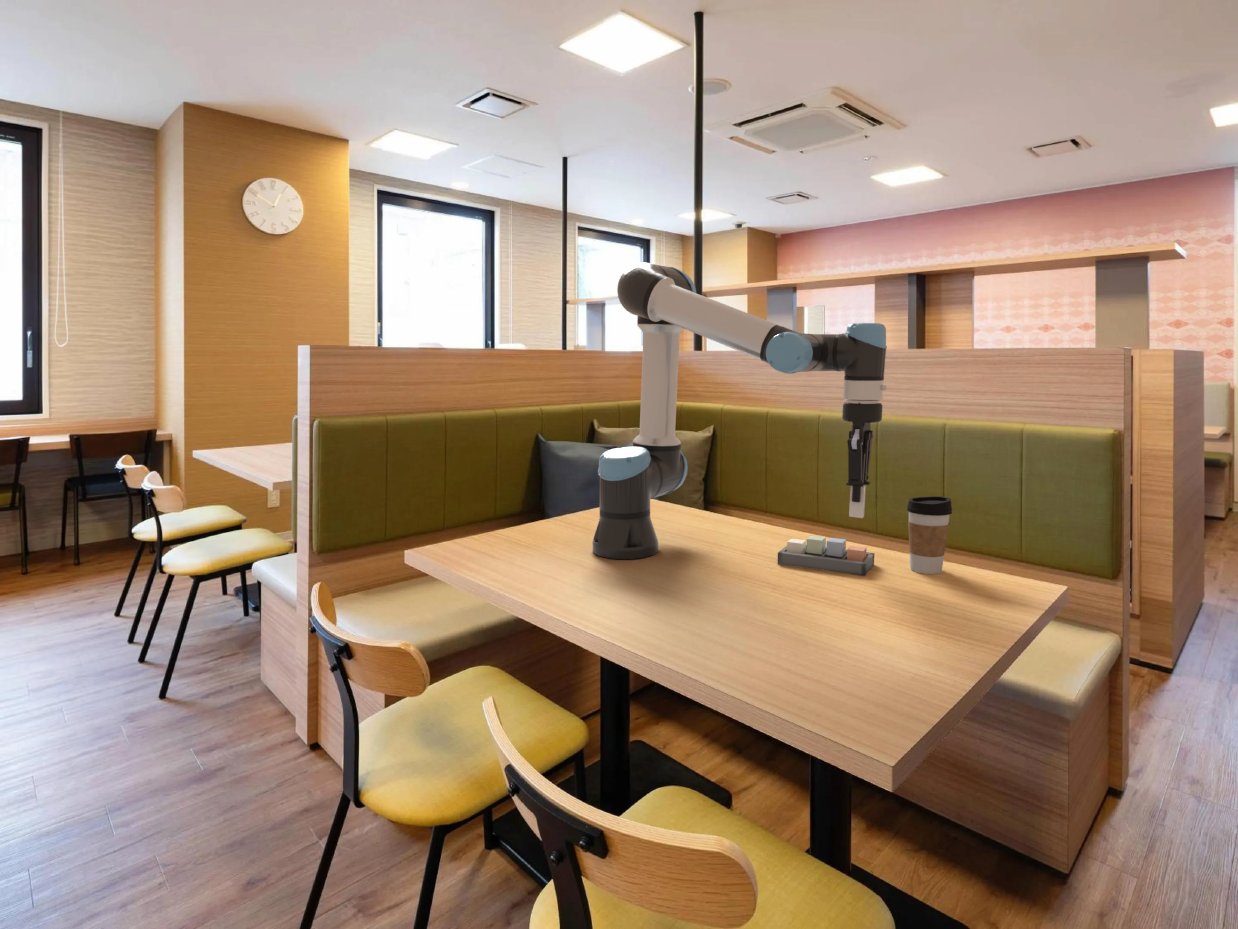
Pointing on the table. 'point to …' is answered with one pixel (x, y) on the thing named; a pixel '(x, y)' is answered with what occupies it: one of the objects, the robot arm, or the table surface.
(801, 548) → the key cream
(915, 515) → the coffee cup
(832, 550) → the key slate
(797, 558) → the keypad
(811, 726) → the table surface
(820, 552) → the key sage
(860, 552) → the key terracotta
